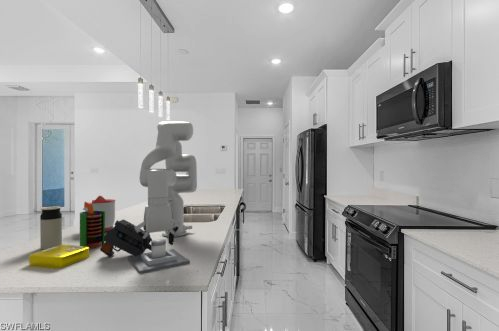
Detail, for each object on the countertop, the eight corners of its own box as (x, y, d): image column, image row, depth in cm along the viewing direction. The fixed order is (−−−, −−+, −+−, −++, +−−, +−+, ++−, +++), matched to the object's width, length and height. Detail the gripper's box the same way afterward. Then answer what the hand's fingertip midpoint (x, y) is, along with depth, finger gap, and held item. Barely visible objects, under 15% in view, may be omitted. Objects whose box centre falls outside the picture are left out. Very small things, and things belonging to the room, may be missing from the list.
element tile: (62, 254, 120) (62, 243, 120) (91, 257, 117) (91, 245, 116) (26, 266, 106) (26, 253, 106) (58, 270, 102) (58, 256, 102)
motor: (91, 250, 124) (91, 204, 124) (74, 249, 126) (73, 203, 126) (107, 243, 134) (107, 201, 134) (91, 243, 136) (90, 201, 136)
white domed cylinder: (163, 255, 113) (163, 238, 113) (167, 259, 109) (167, 240, 109) (149, 258, 110) (149, 240, 110) (153, 261, 106) (153, 242, 106)
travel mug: (65, 246, 131) (65, 206, 131) (47, 250, 124) (47, 209, 124) (55, 244, 134) (54, 205, 134) (36, 248, 127) (36, 208, 127)
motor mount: (173, 251, 122) (173, 245, 122) (189, 263, 107) (189, 256, 107) (128, 259, 112) (128, 253, 112) (140, 273, 97) (139, 266, 97)
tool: (101, 247, 119) (119, 215, 119) (142, 268, 120) (160, 237, 121) (94, 251, 113) (114, 218, 113) (138, 274, 114) (157, 241, 115)
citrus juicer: (94, 227, 170) (94, 193, 170) (121, 228, 168) (121, 194, 168) (74, 233, 155) (74, 196, 155) (104, 234, 152) (104, 197, 152)
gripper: (176, 199, 118) (176, 240, 118) (132, 202, 108) (132, 247, 108) (183, 201, 111) (183, 244, 112) (137, 204, 102) (137, 252, 102)
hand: (158, 246), depth 110 cm, fingers open, 9 cm apart
